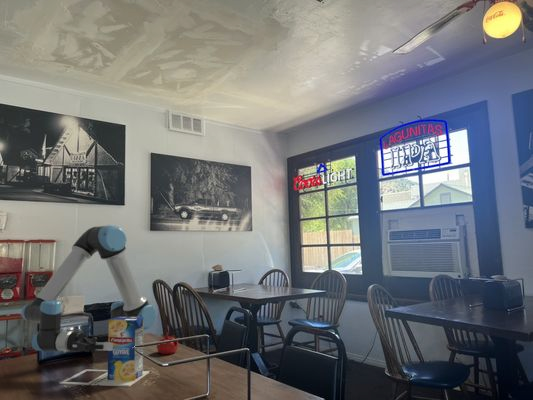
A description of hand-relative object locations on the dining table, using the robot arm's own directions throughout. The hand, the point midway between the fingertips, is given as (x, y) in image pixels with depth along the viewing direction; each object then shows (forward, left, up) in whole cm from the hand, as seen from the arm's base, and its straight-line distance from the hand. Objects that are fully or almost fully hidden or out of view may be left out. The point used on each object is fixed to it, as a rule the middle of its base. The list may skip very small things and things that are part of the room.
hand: (121, 342), depth 153 cm
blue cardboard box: (0, +2, -13) cm, 13 cm away
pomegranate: (-37, +3, -14) cm, 40 cm away
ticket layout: (0, -6, -13) cm, 15 cm away
